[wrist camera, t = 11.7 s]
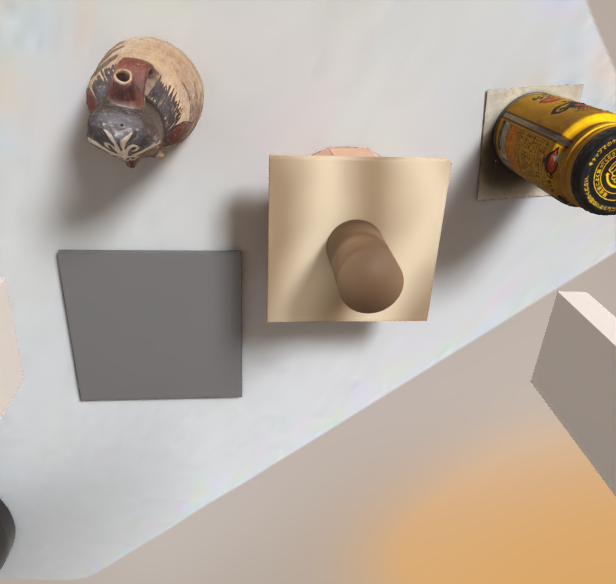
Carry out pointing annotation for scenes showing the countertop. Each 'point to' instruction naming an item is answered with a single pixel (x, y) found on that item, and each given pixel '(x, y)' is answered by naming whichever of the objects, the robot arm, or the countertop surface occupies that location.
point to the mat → (154, 322)
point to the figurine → (143, 99)
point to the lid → (353, 237)
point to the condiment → (548, 148)
